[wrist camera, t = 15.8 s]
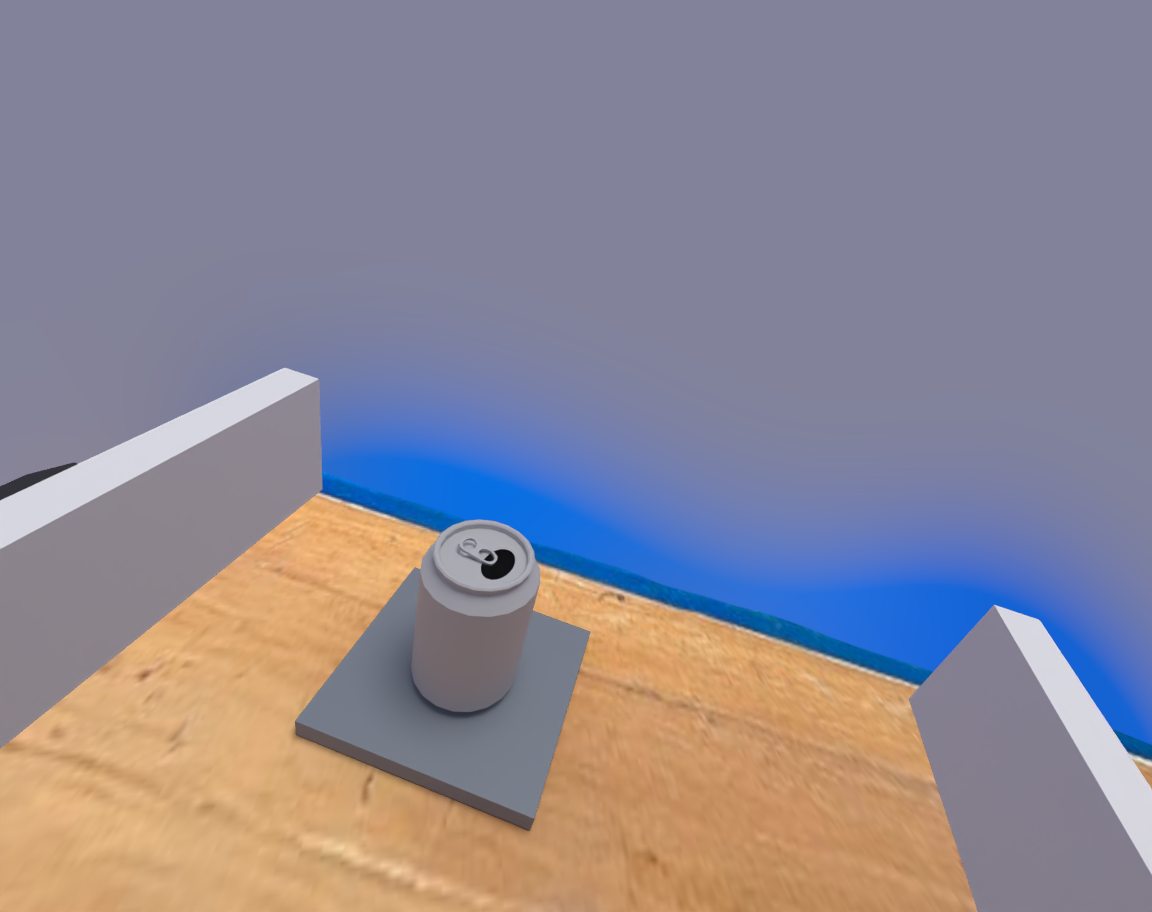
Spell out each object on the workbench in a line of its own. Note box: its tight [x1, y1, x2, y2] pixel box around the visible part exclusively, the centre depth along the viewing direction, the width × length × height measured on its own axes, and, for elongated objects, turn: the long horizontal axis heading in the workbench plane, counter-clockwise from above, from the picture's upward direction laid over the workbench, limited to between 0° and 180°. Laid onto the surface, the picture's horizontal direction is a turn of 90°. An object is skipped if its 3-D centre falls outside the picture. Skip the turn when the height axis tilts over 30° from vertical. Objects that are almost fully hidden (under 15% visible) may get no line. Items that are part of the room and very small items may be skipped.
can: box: [411, 520, 540, 712], centre depth 36 cm, size 8×8×12 cm
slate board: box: [295, 568, 590, 830], centre depth 40 cm, size 16×15×2 cm
